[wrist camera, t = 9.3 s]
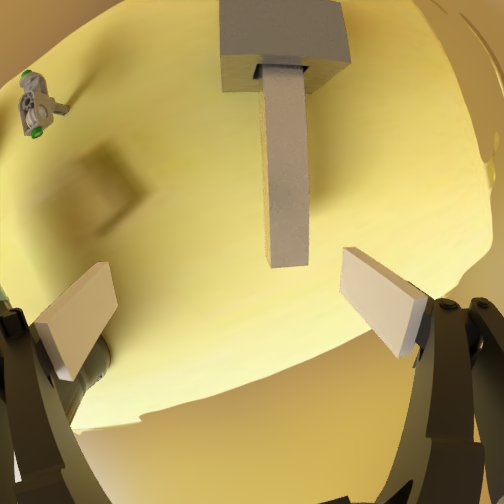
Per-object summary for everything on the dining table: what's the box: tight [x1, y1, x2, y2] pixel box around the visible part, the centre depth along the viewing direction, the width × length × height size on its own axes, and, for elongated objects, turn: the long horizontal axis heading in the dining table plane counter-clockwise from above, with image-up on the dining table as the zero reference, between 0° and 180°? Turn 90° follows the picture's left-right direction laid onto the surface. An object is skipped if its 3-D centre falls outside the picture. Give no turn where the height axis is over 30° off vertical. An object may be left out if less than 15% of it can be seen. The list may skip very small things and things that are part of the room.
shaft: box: [257, 64, 309, 268], centre depth 26 cm, size 26×4×4 cm, turn 2°
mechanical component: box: [19, 70, 69, 139], centre depth 24 cm, size 3×10×10 cm, turn 20°
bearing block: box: [220, 0, 351, 93], centre depth 24 cm, size 8×12×13 cm, turn 92°
